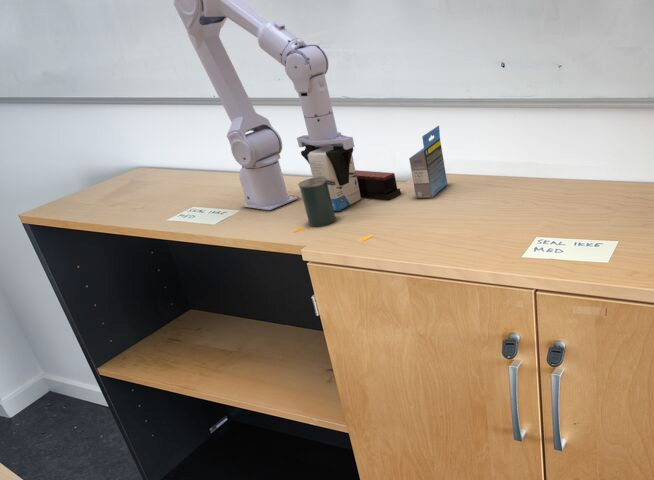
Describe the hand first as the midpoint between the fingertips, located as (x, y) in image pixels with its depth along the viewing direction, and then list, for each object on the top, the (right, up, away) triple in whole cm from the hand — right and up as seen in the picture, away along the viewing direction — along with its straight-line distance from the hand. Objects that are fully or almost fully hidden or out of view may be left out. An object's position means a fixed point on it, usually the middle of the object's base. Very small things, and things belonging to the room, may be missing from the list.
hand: (334, 183), depth 140 cm
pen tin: (-1, -9, -5) cm, 11 cm away
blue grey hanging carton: (+20, -1, +3) cm, 20 cm away
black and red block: (+7, -1, +6) cm, 10 cm away
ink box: (+1, -4, +3) cm, 5 cm away
